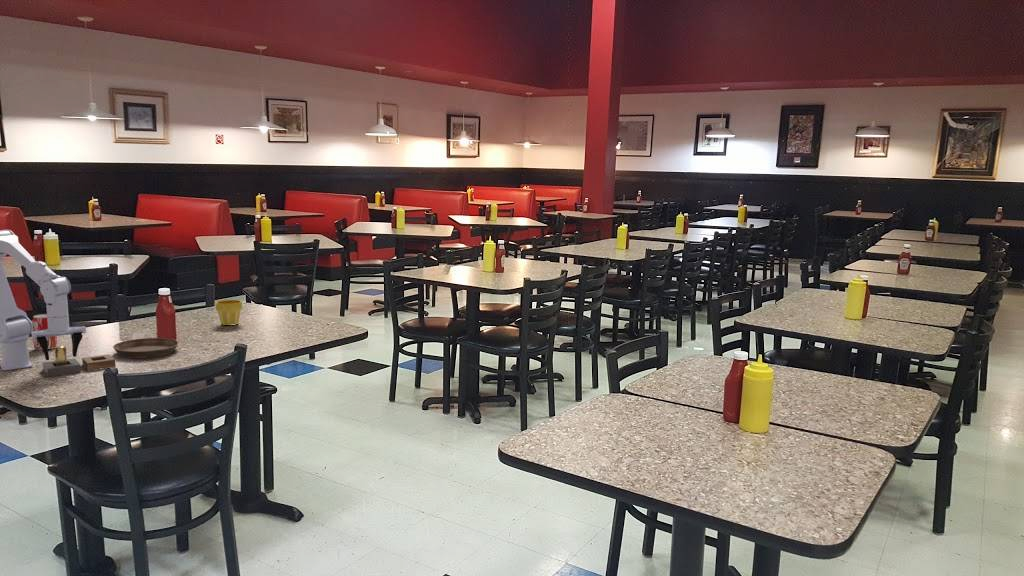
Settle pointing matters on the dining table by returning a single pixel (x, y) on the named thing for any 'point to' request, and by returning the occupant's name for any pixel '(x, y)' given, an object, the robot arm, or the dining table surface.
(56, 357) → the brass pin
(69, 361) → the grey slotted block
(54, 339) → the soda can
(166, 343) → the plant saucer
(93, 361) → the block
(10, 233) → the robot arm
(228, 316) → the plant pot
